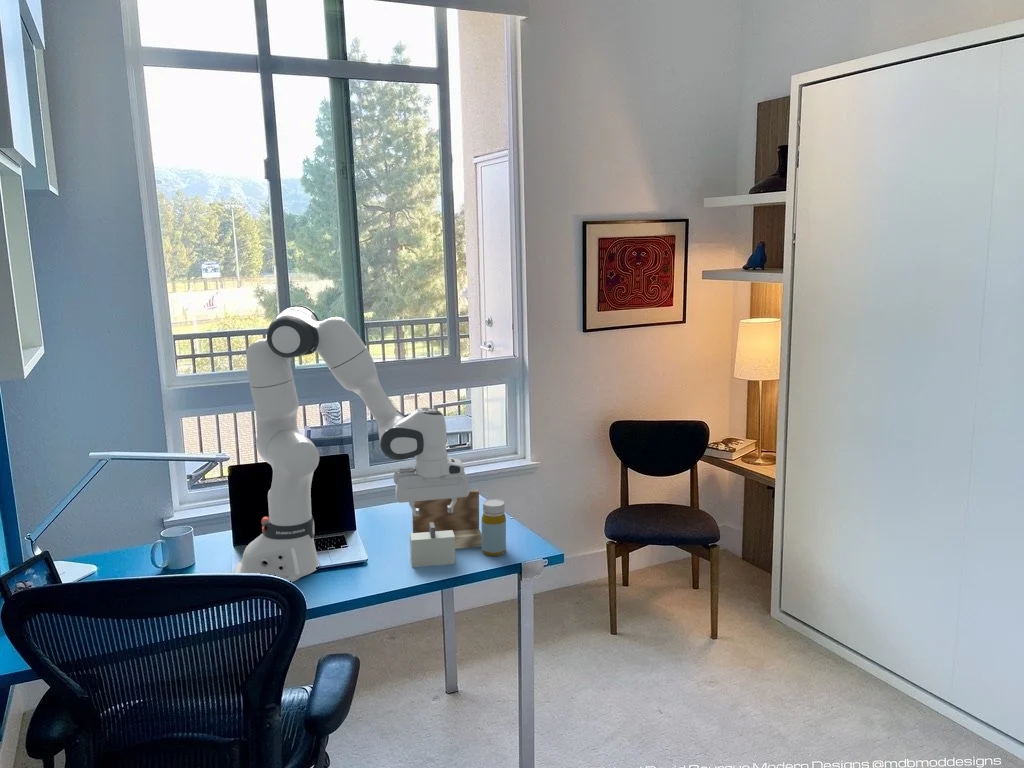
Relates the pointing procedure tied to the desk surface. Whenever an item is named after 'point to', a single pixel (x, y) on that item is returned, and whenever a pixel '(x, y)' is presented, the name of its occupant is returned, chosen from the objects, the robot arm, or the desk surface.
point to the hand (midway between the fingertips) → (433, 513)
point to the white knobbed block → (432, 547)
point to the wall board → (451, 518)
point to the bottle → (493, 527)
